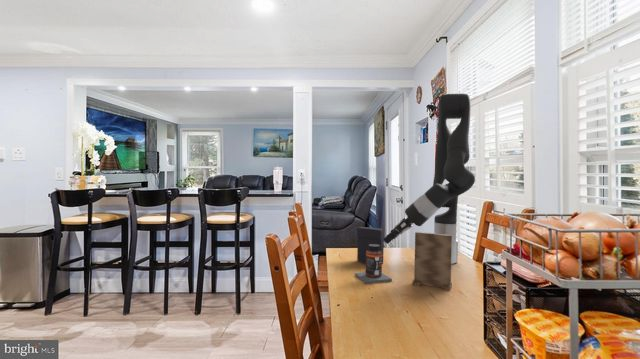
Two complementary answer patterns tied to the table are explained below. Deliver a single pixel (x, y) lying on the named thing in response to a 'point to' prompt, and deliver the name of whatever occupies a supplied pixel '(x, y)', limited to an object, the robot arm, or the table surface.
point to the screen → (433, 260)
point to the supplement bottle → (374, 261)
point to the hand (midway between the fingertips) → (388, 239)
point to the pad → (372, 278)
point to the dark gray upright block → (369, 241)
